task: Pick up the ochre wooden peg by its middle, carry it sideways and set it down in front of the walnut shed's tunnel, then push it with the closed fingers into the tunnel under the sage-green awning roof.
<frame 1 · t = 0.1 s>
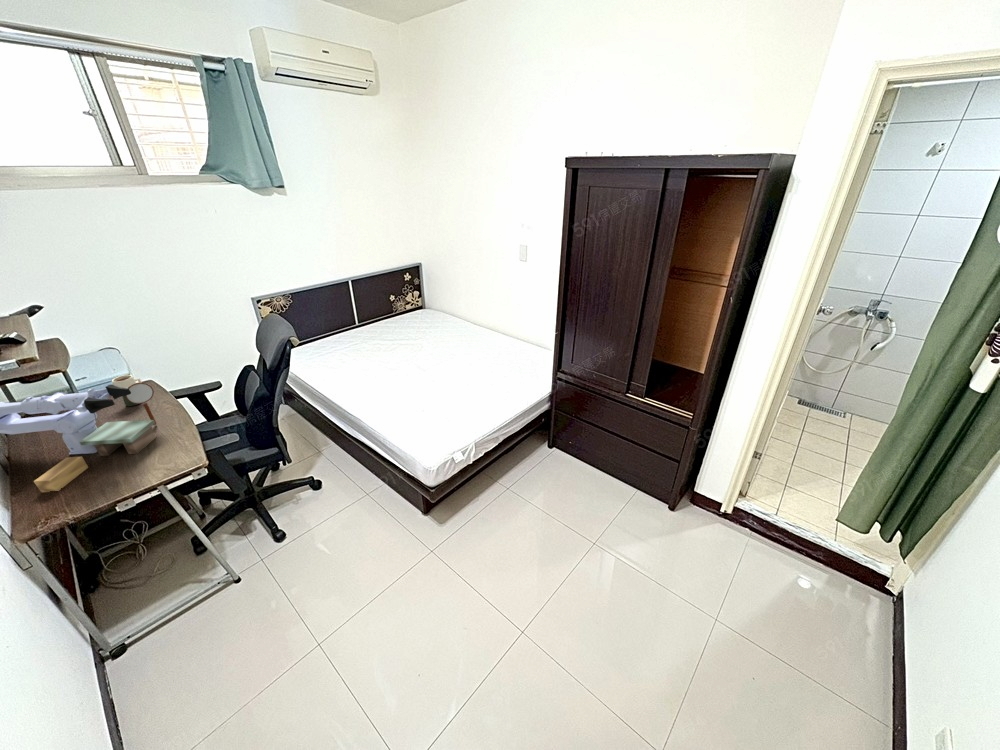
hand: (121, 396, 142), 22 cm above the table, tool horizontal, fingers open, 7 cm apart
character mug: (134, 403, 179), on the table
magnifying glass: (156, 426, 163), on the table
peg: (66, 479, 135), on the table
socket shed: (127, 447, 151), on the table
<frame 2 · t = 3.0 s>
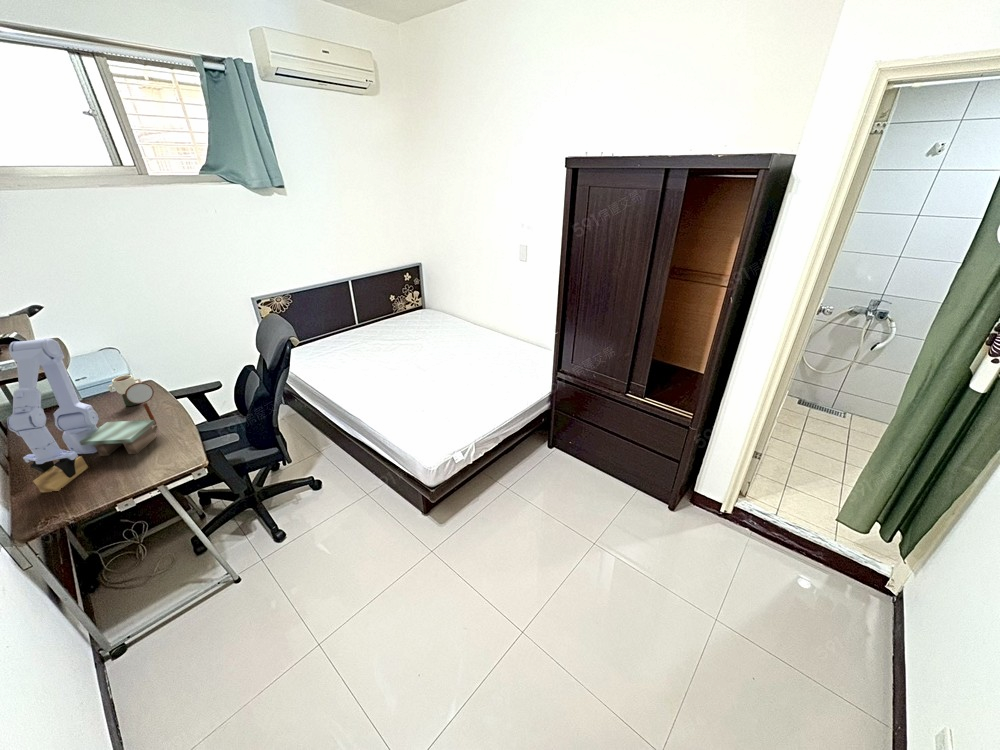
hand: (63, 476, 135), 1 cm above the table, tool pointing down, fingers closed on peg, 5 cm apart
peg: (65, 479, 135), on the table, touching gripper
everything else where it was.
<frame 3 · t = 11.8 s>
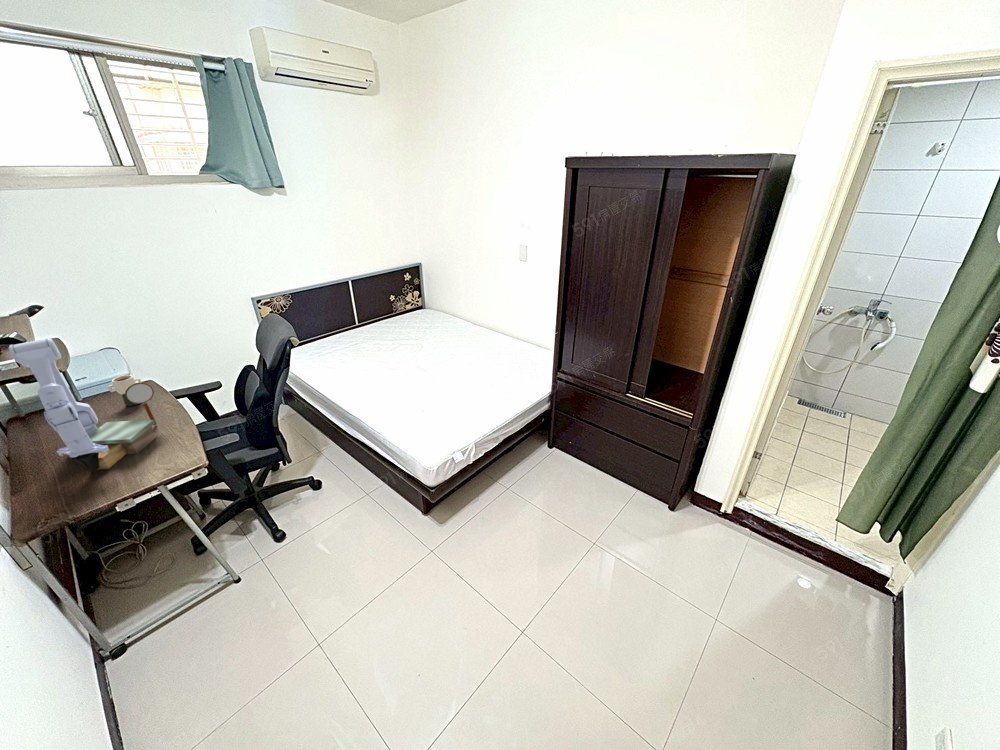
hand: (95, 469, 137), 1 cm above the table, tool pointing down, fingers closed, pressing on peg
peg: (114, 458, 145), on the table, touching gripper
everything else where it was.
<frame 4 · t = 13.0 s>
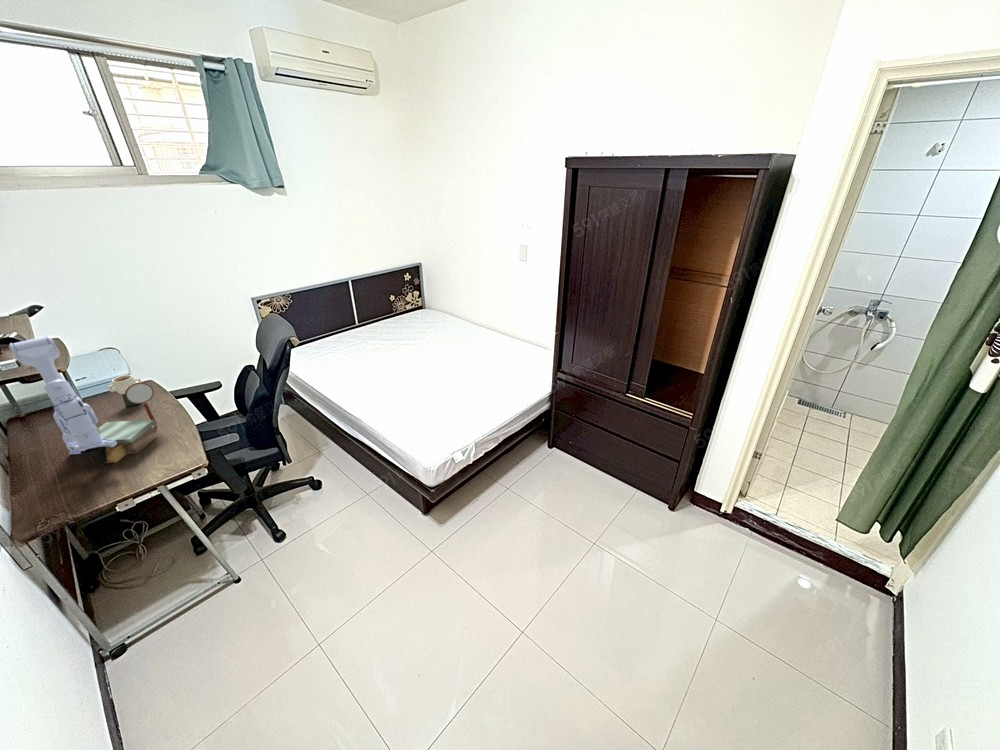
hand: (102, 463, 140), 1 cm above the table, tool pointing down, fingers closed
peg: (122, 452, 148), on the table, touching gripper
everything else where it was.
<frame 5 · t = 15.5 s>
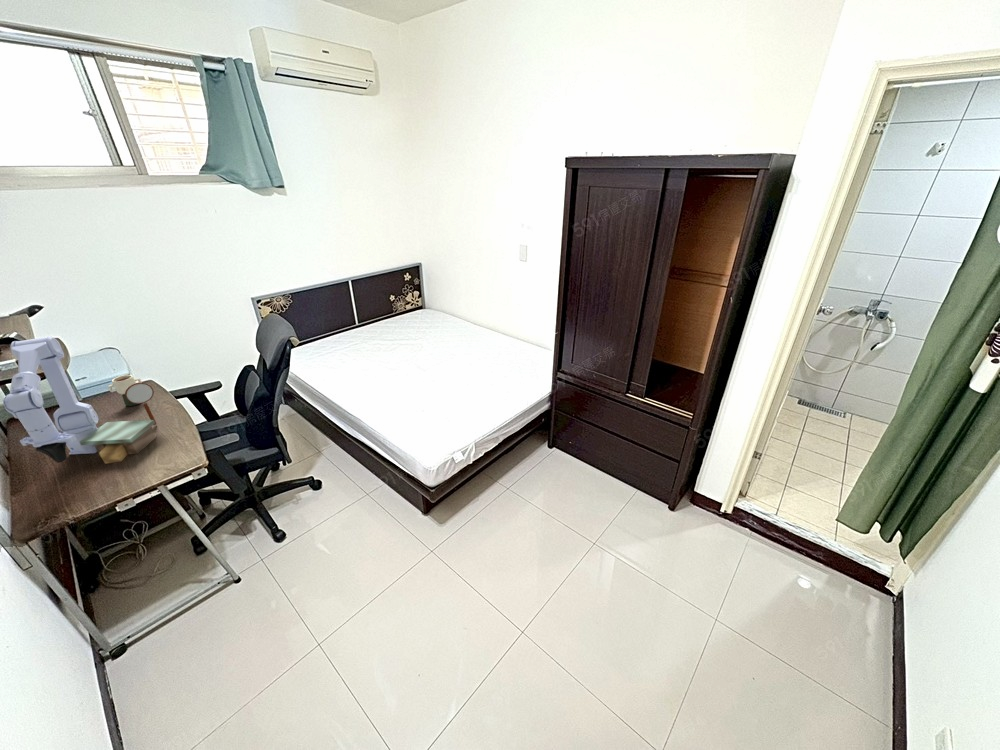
hand: (62, 460, 129), 9 cm above the table, tool pointing down, fingers closed
peg: (122, 452, 148), on the table
everything else where it was.
at the end: peg 1.4 cm from the target spot, on the table; peg tilted 0°; the gripper is holding nothing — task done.
